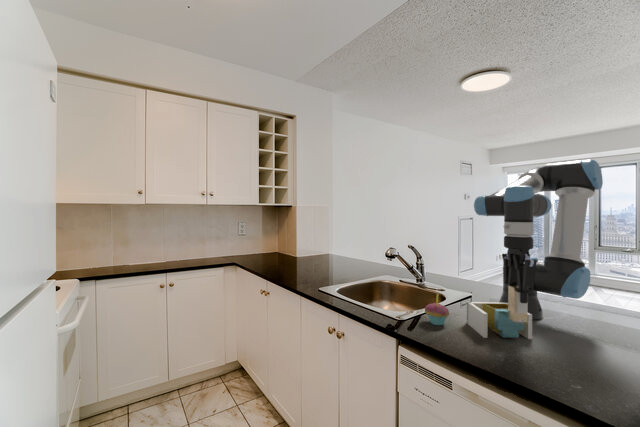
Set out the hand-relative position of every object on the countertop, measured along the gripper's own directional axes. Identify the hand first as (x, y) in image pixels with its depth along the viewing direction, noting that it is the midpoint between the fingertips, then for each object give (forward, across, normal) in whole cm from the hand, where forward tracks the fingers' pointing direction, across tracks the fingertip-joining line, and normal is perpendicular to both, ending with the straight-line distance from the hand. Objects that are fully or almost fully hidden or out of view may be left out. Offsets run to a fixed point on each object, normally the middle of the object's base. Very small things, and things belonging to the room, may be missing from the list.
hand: (517, 310), depth 89 cm
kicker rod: (+10, -2, 0) cm, 10 cm away
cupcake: (+11, -17, -19) cm, 28 cm away
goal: (+11, -11, 0) cm, 16 cm away
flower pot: (+11, -9, 0) cm, 14 cm away
